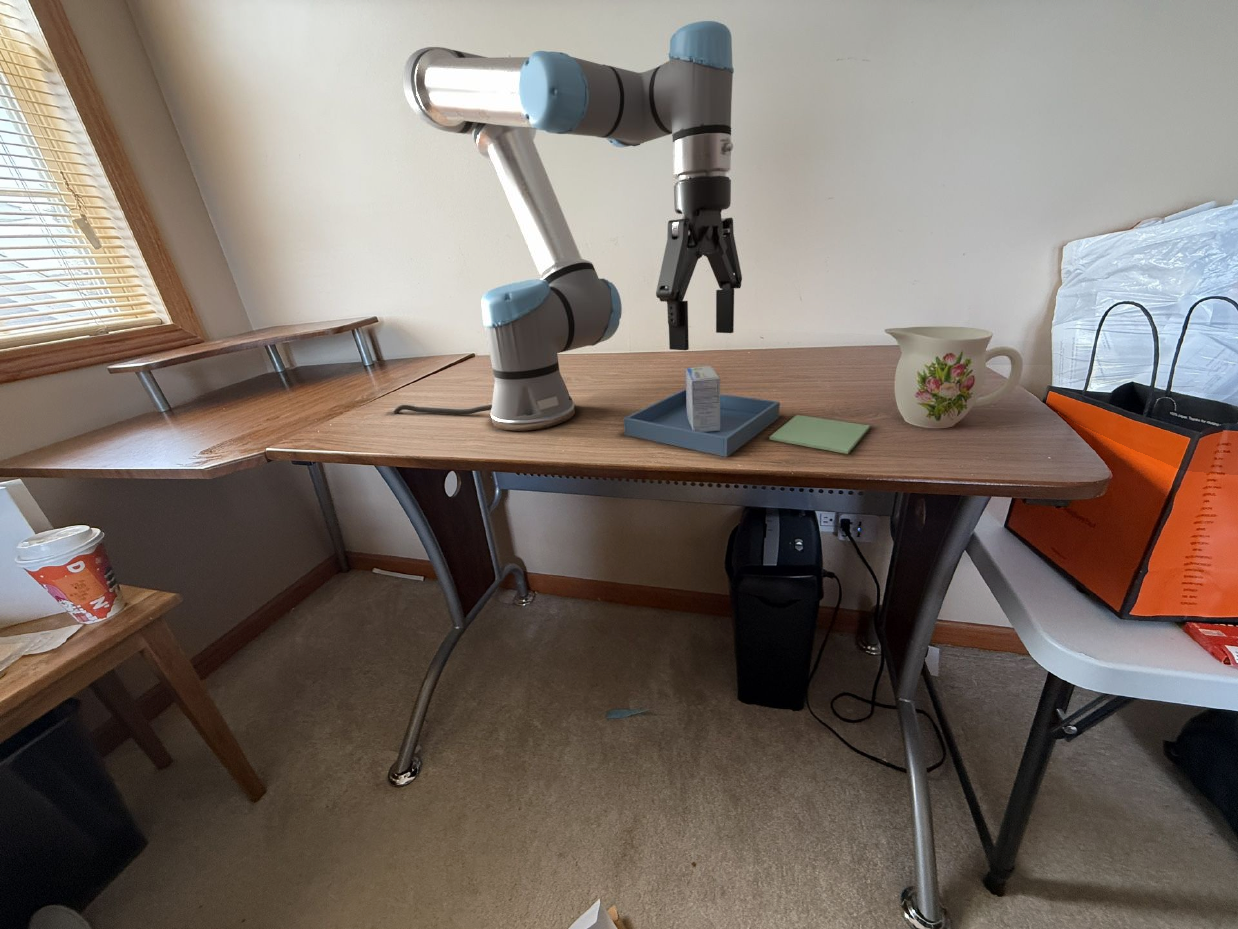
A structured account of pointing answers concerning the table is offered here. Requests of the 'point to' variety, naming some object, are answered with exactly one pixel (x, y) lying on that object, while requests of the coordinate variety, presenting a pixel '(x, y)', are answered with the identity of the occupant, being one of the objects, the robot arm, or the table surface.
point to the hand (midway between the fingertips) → (703, 340)
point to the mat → (821, 433)
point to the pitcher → (946, 373)
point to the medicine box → (703, 399)
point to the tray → (673, 427)
